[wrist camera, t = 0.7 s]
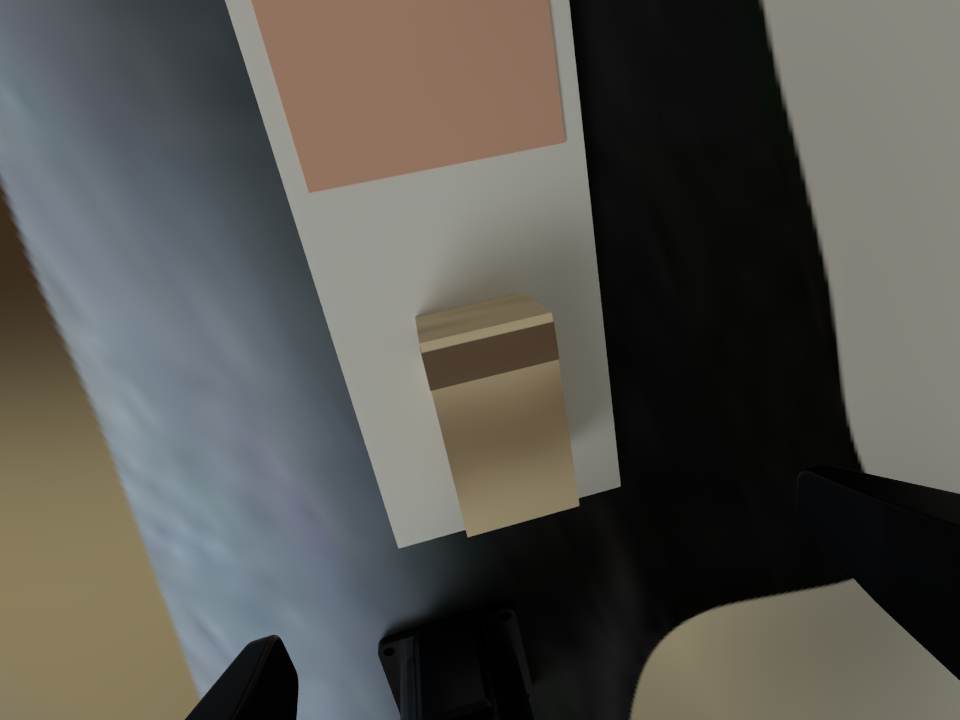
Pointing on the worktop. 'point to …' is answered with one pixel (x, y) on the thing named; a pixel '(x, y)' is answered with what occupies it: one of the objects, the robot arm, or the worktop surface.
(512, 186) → the grey mat
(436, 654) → the robot arm
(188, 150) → the worktop surface
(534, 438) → the two-tone wooden box
